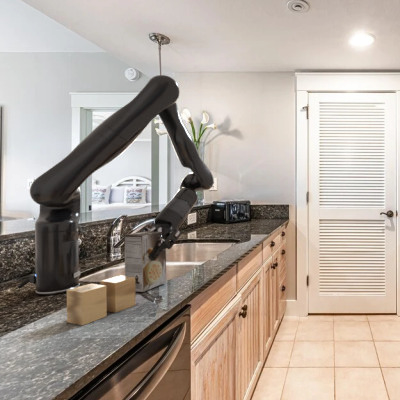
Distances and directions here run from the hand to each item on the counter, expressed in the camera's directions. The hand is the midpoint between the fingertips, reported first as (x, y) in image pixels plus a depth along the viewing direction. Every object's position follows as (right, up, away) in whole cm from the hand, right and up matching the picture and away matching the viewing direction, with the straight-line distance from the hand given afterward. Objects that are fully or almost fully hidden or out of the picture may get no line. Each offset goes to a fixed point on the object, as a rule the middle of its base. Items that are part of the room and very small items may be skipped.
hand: (141, 258), depth 84 cm
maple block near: (0, -9, -20) cm, 22 cm away
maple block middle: (+3, -9, -14) cm, 17 cm away
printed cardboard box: (0, -9, +2) cm, 9 cm away
